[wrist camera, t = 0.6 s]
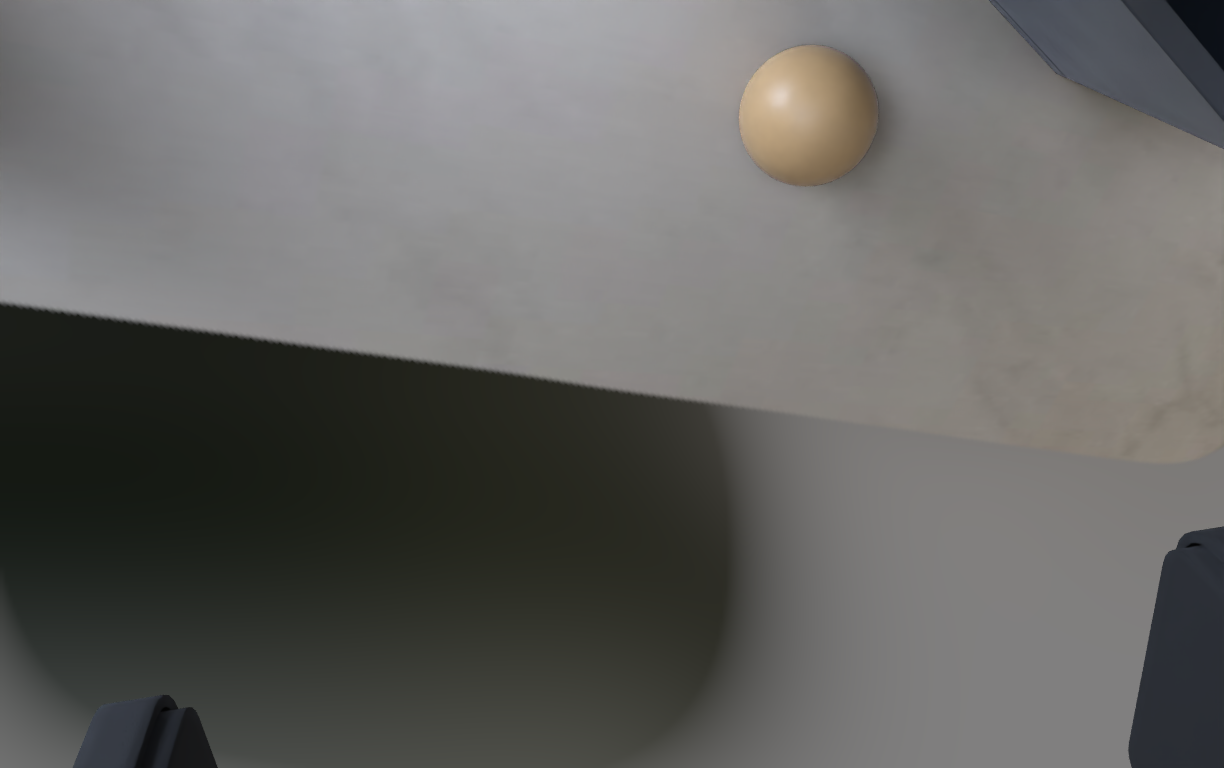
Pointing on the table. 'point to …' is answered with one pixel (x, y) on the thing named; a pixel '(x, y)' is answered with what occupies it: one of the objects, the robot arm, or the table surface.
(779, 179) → the light brown ball
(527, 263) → the table surface
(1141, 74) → the bin
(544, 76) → the table surface
